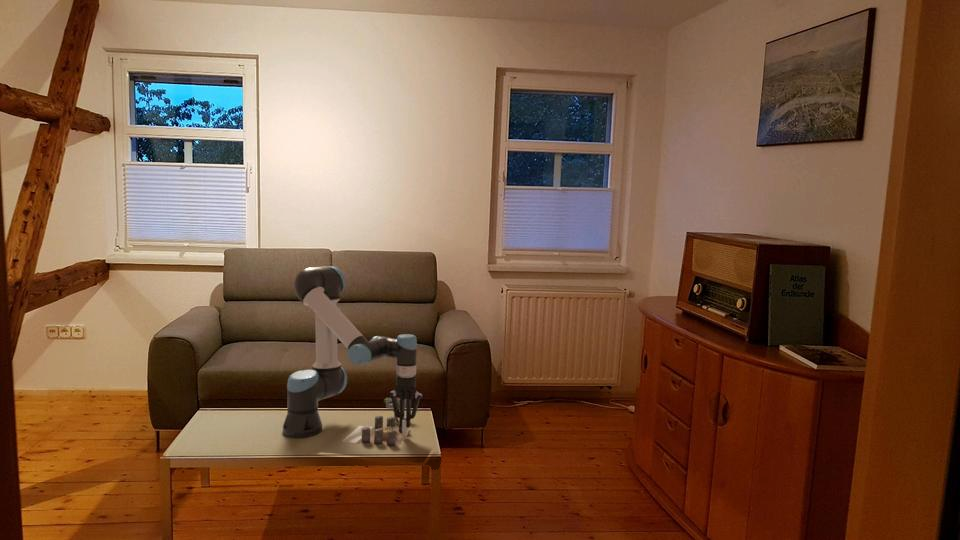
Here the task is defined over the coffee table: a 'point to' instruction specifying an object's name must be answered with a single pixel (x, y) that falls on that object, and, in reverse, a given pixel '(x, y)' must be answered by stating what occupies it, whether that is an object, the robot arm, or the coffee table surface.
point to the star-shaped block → (386, 431)
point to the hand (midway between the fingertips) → (404, 435)
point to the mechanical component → (392, 405)
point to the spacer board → (377, 434)
